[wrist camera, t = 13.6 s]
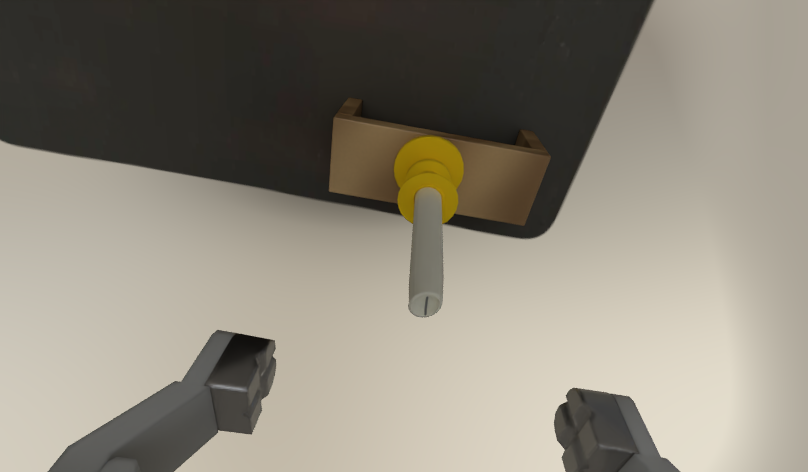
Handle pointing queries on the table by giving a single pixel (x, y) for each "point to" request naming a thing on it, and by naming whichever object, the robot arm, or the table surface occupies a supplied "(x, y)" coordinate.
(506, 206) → the shelf
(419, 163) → the candle
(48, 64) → the table surface
